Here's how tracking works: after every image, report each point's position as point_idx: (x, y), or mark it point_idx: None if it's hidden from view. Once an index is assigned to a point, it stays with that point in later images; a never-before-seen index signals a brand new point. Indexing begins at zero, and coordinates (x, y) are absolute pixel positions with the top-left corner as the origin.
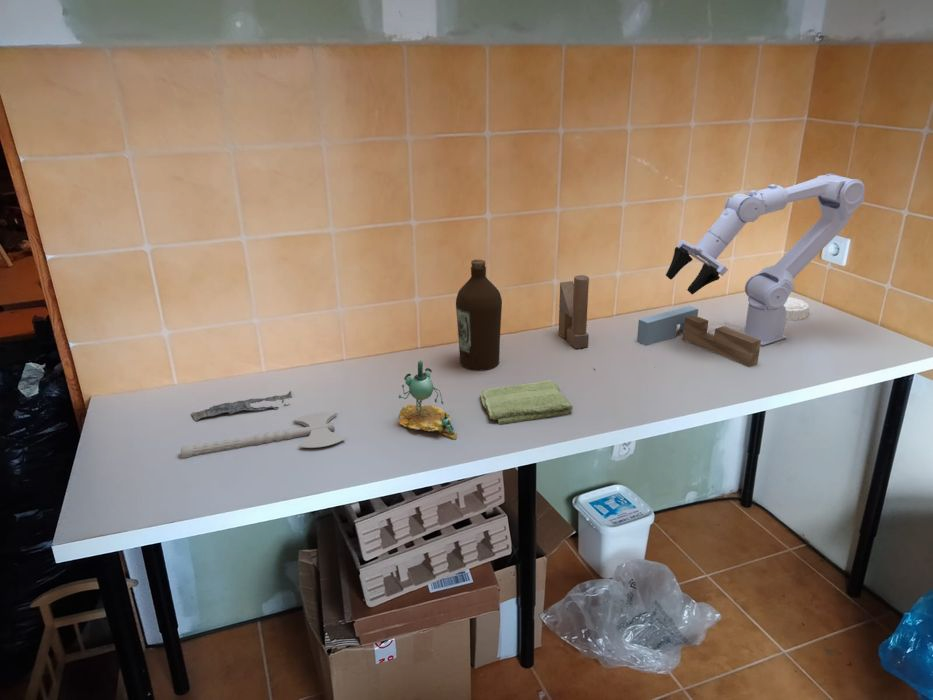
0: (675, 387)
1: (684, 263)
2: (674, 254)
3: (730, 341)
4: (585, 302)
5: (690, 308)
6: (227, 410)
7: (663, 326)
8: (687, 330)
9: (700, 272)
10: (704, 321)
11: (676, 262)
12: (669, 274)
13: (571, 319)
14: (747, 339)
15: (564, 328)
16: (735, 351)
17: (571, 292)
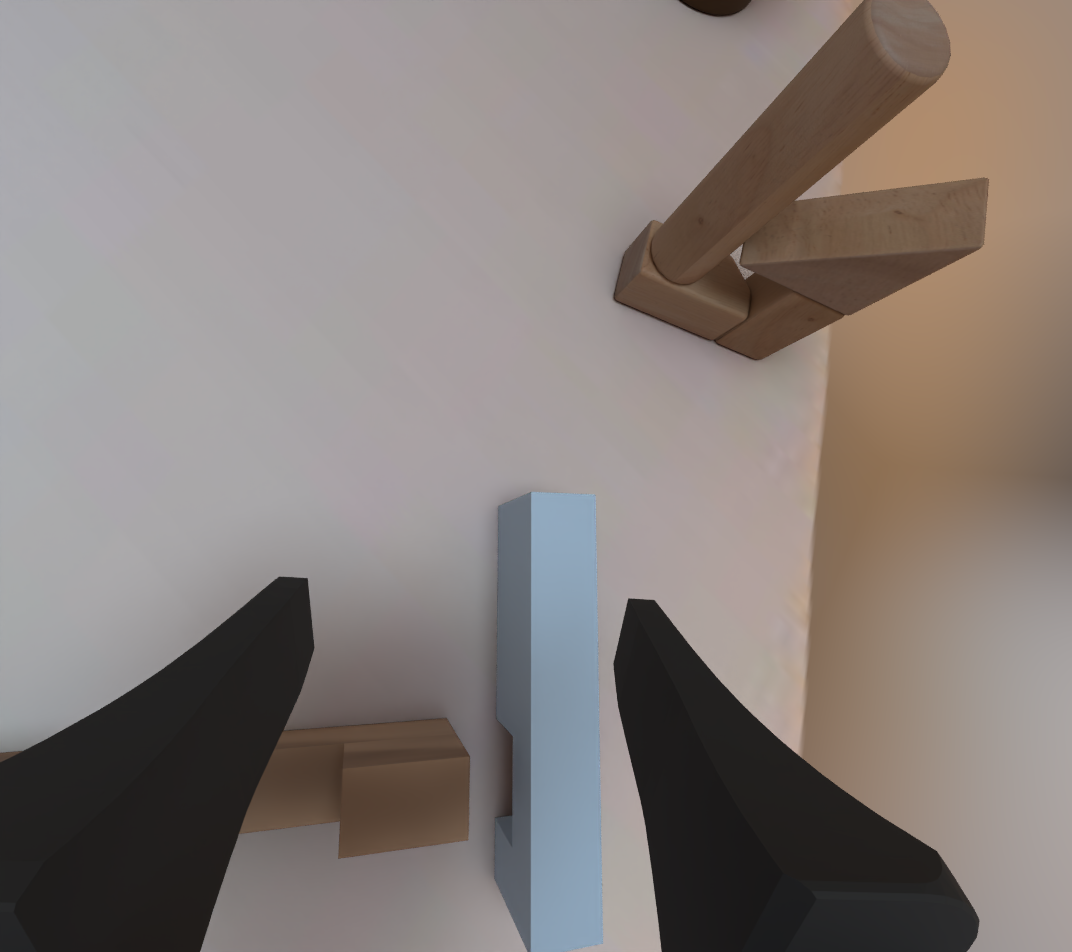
0: (61, 243)
1: (668, 905)
2: (826, 786)
3: None
4: (747, 145)
5: (562, 910)
6: None
7: (517, 623)
8: (430, 736)
9: (144, 750)
10: (343, 818)
11: (686, 736)
12: (631, 627)
13: (771, 284)
14: None
15: (751, 276)
16: None
17: (898, 227)
